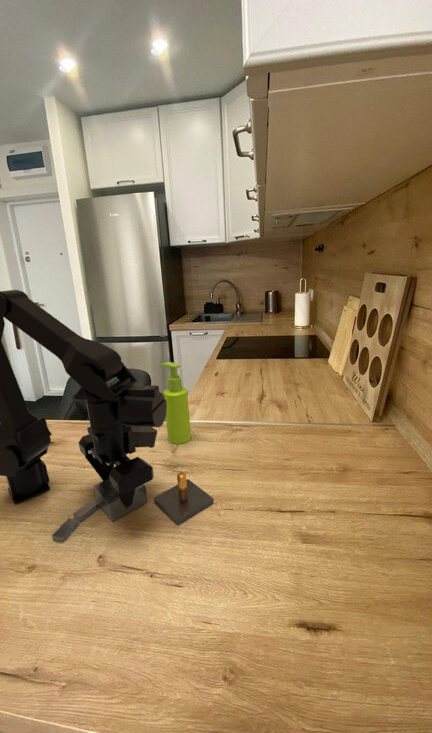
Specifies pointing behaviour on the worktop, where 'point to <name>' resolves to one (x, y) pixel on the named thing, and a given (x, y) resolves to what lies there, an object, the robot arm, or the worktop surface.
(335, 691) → the worktop surface
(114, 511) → the hollow square frame
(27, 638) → the worktop surface
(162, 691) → the worktop surface
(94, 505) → the grey topped wooden tile
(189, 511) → the keeper
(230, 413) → the worktop surface
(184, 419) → the soap dispenser
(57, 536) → the wood sided gray block
